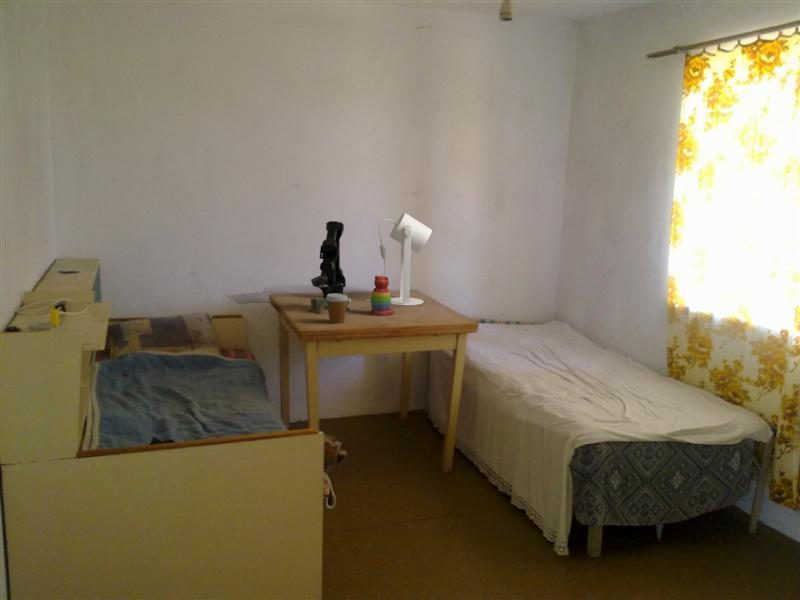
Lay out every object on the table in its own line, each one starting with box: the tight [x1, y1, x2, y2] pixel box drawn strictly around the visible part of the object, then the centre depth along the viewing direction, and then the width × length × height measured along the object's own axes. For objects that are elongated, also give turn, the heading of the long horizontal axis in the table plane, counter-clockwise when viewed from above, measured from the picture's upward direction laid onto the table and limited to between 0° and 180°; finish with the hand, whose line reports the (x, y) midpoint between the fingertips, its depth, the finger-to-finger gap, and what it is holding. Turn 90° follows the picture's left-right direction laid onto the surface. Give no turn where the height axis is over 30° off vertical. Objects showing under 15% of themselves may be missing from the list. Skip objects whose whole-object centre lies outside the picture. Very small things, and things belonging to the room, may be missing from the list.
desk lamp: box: [366, 212, 433, 306], centre depth 327 cm, size 21×32×45 cm, turn 95°
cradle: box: [307, 298, 351, 315], centre depth 308 cm, size 16×12×5 cm
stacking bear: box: [370, 275, 396, 317], centre depth 301 cm, size 11×10×18 cm
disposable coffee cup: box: [326, 293, 349, 325], centre depth 283 cm, size 10×10×12 cm
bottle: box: [316, 297, 352, 309], centre depth 309 cm, size 17×4×4 cm, turn 122°
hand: (329, 302), depth 308 cm, fingers open, 6 cm apart
